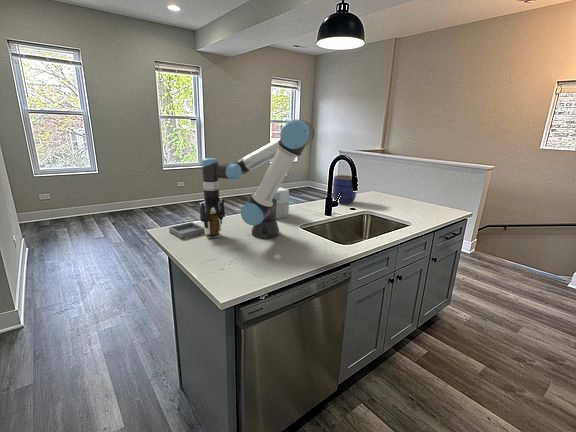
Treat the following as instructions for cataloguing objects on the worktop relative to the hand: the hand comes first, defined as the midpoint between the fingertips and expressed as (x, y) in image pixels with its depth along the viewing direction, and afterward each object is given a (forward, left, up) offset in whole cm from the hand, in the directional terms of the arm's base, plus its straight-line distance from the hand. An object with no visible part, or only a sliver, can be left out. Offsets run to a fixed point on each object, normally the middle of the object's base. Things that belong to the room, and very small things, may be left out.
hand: (213, 231), depth 158 cm
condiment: (0, 0, -2) cm, 2 cm away
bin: (+13, +8, -2) cm, 16 cm away
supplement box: (+7, -51, -2) cm, 51 cm away
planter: (-5, -116, -2) cm, 116 cm away
